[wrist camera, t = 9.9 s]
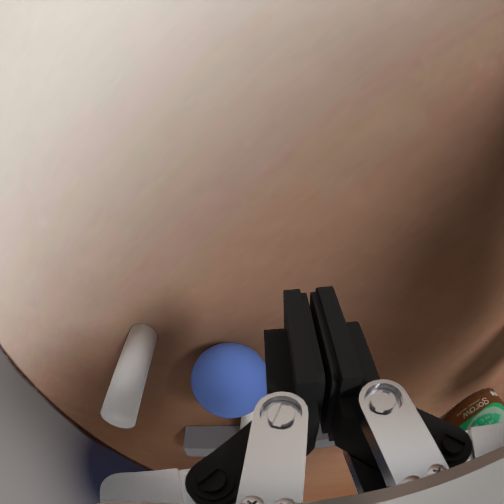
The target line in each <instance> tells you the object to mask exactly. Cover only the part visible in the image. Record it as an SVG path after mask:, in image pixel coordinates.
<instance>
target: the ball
mask: <svg viewBox="0 0 504 504" xmlns="http://www.w3.org/2000/svg"><path fill="white" fill-rule="evenodd" d="M191 387H192V391H193V394H194V396H195V398H196V400H197V401H198V402H199V404H200V405H201V406H202V407H203V408H204V409H205V410H207V411H208V412H210V413H212V414H214V415H216V416H219V417H223V418H238V417H242V416H245V415H248V414H249V413H251V412H253V411H254V409H255V406H256V404H257V403H258V402H259V401H260V399H261V398H263V397H265V396H266V395H267V385H266V364H265V362H264V361H263V359H262V358H261V357H260V356H259V355H258V354H257V353H256V352H255V351H254V350H252V349H251V348H249V347H247V346H245V345H242V344H238V343H221V344H217V345H215V346H212V347H210V348H209V349H207V350H206V351H204V352H203V353H202V354H201V355H200V356H199V358H198V359H197V360H196V362H195V364H194V366H193V369H192V373H191Z"/></svg>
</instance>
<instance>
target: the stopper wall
mask: <svg viewBox="0 0 504 504" xmlns="http://www.w3.org/2000/svg"><path fill="white" fill-rule="evenodd" d="M239 430H240V425H232V426H186V428H185V437H184V446H183V449H184V451H185V452H186V454H187V456H204V457H206V456H207V455H209V454H210V453H211V452H213V451H214V450H215V449H217V448H218V447H219V446H221V445H222V444H223V443H224V442H226V441H227V440H228V439H230V438H231V437H232V436H233V435H235V434H236V433H237V432H238V431H239ZM331 446H336V445H335V442H334V441H329V438H328V433H325V434H322V431H321V425H320V424H319V430H318V434H317V437H316V443H315V448H314V449H318V448H324V447H331Z"/></svg>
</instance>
